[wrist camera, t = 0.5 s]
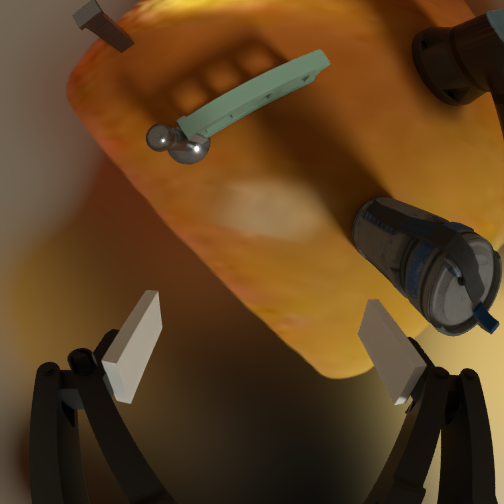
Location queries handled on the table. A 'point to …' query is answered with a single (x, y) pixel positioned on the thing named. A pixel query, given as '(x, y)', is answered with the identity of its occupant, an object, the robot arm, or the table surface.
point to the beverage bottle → (431, 263)
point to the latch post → (102, 26)
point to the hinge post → (176, 143)
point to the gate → (252, 96)
